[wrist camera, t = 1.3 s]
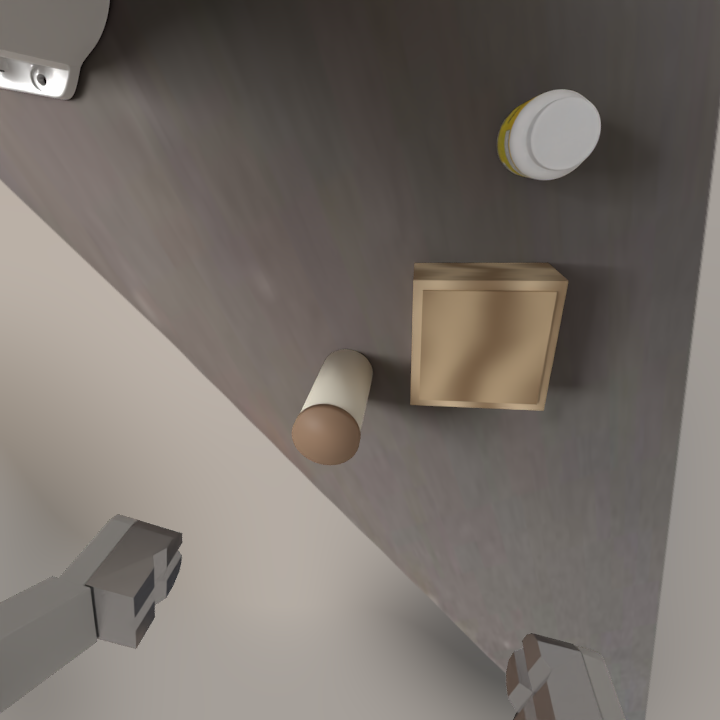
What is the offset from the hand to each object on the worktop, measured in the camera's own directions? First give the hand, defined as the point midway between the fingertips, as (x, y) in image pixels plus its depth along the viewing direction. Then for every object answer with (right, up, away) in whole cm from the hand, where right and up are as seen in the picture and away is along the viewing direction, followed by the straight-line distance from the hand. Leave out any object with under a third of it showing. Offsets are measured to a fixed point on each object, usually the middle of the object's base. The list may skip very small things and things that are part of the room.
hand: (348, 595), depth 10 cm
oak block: (+12, +9, +32) cm, 35 cm away
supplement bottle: (+14, +23, +24) cm, 37 cm away
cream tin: (-1, +4, +36) cm, 36 cm away
